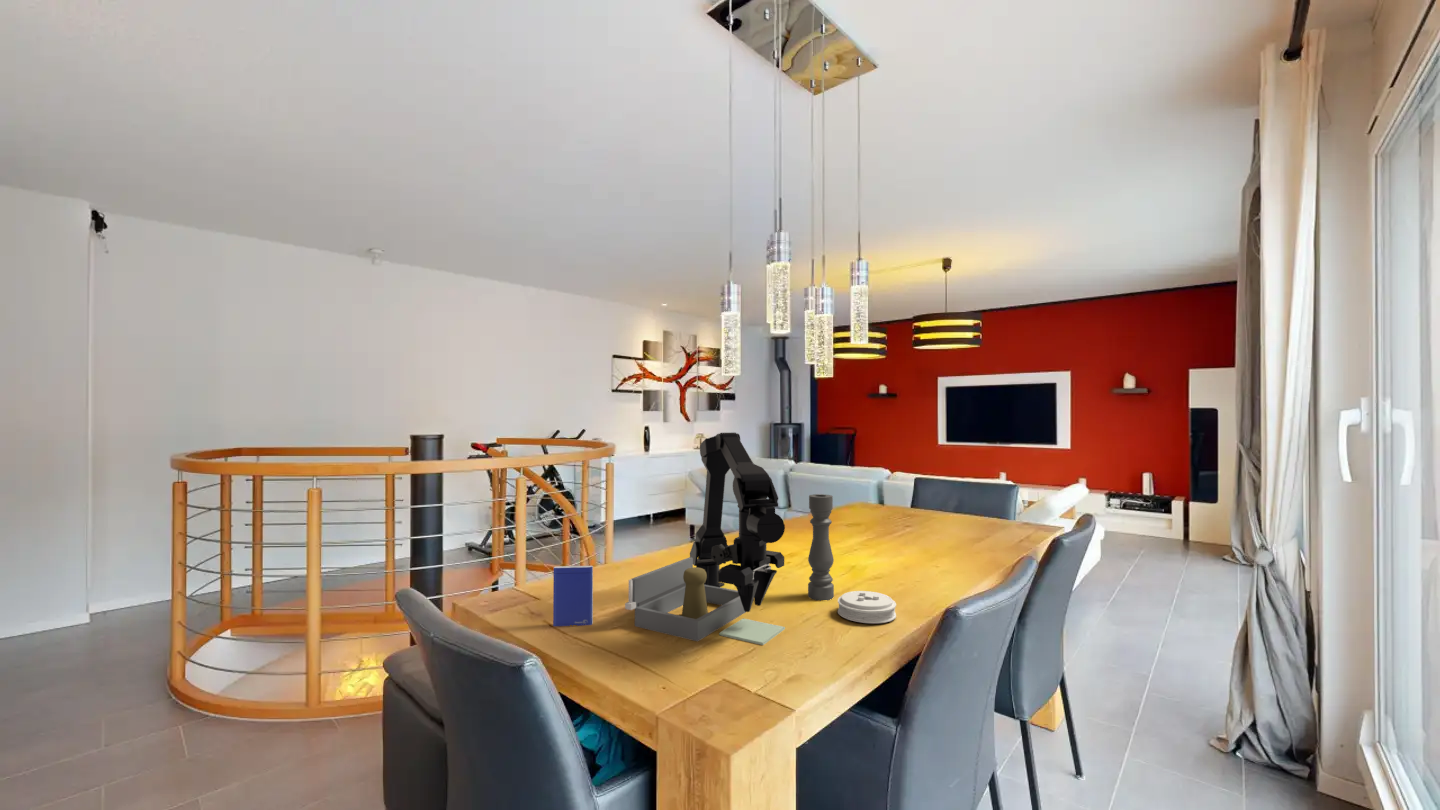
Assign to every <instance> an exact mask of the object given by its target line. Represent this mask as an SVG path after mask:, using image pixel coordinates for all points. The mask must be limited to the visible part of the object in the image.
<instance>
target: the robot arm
mask: <svg viewBox="0 0 1440 810" xmlns="http://www.w3.org/2000/svg"><path fill="white" fill-rule="evenodd" d="M699 454H700V457H701V462H702V464H703V466H704V468H705V470H706V477H705V478H706V480H705V492H704V504H703V505H704V507H703V521H702V525H700V527H699V528H698V530H697V531H696V533H695V538H694V541H693V543H692V545H691V549H690V552H689V557H691V558H693V567H694V566H695V567H698V568H702V569H704V570H705V571H706V574H707V579H706V582H705V583H704V585H709V586H715V587H720V588H723V587H724V586H725V584H729V585H733V586H734V587H735V588H736V590H737V591H738V593H739V596H740V599H741V602H742V605H743V608H744V611H745V612H746V613H750V612H751V610H752V606H753V602H754V604H755V606H759V607H760V606H761V605H762V602H763V600H764V598H765V596H766V594H767V592H768V589H769V587H770V585H771V584H772V581H773V579H774V577H775V575H776V574H777V572H778V571H777V570H776V569H772V566H771V565H774V566H775V567H776V568H777V569H780V568H782V567H784V566H785V556H784V554H783V553H782V552H780V551H773V550H767V544H774V543H777V542H778V541H779V540H780V539H782V538H783V536H784V534H785V530H786V529H785V528H786V525H785V523H784V520H783V518H782V517H781V515H778V514H777V513H776V508H777V507H779V503H778V501H779V496H778V493H777V491H776V490H777V489H776V488H775V485H774V483H773V480H772V478H771V476H770V475H769V473H768V472H767V471H766V470H765V469H764V468H763V467H762V466H760V465H757V464H755V463H754V462H753V460H752V458H751V456H750V455H749V454H748V451H747V449H746V448H745V446H744V445H743V443H742V440H741V436H740V434H739V433H737V432H719V433H716V435H714V436H710V437H708V438H705V439H703V441H702V442H701V443H700V446H699ZM729 471H731V472H732V474H733V480H732V492H733V495H734V496H735V497H734V498H735V500H736V503H737V508H738V537H735V538H734V539H733V543H732V544H728V540H727V538H726V536H725V534H724V531H723V530H722V519H723V518H722V517H723V508H724V507H723V506H724V496H725V495H724V493H725V485H726V484H725V482H726V474H727V473H728V472H729ZM728 562H729V564H727V563H728ZM730 562H732V563H730ZM723 564H724V565H725V564H727V565H725V566H723V567H720V566H721V565H723Z"/></svg>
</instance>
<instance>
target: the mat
mask: <svg viewBox="0 0 1440 810" xmlns="http://www.w3.org/2000/svg"><path fill="white" fill-rule="evenodd" d="M785 629H786V627H785V626H782V625H776V624H772V623H767V622H762V621H757V620H753V619H749V618H741V619H740V620H738V621H737V622H735V623H733V624H732V625H729V626H728V627H726V628H724V629H723V630H722V631H720V632H718V633H719V634H718V635H719V636H722V637H725V638H726V637H727V638H730V639H735V640H738V641H742V642H747V643H750V644H756V645H759V646H764V645H765V644H767V643H769V642H770V641H771V640H772V639H774V638H775V637H776V636H777V635H779V634H781V633H782V632H783V631H784V630H785Z"/></svg>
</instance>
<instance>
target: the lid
mask: <svg viewBox="0 0 1440 810" xmlns="http://www.w3.org/2000/svg"><path fill="white" fill-rule="evenodd" d="M837 603H838V609H837V614H838V615H839V616H841V617H842V618H844V619H846V620H848V621H853V622H857V623H863V624H884V623H888V622H889V623H890V622H892V621H893V620H895V619H896V618H897V613H896V608H897V603H896V601H895V600H893V599H892V597H891V596H888V595H887V594H884V593H881V592H878V591H877V592H876V591H870V590H869V591H868V590H854V591H852V590H851V591H848V592H845V593H843V594H842V595H840V596H839V597H838V598H837Z"/></svg>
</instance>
